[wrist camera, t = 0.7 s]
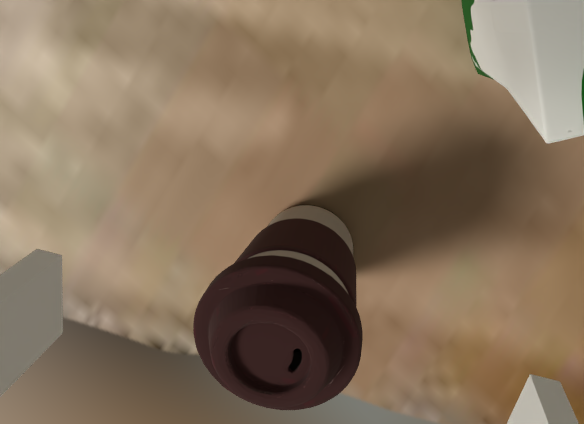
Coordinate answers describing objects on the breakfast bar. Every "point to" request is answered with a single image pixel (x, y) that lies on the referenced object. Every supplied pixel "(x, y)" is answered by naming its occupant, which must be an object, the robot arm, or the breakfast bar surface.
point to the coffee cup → (285, 314)
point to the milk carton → (533, 58)
